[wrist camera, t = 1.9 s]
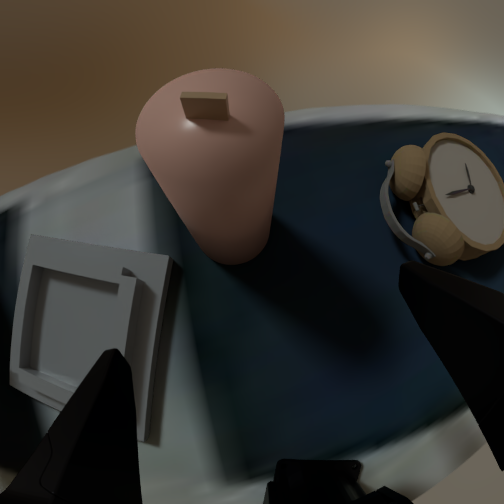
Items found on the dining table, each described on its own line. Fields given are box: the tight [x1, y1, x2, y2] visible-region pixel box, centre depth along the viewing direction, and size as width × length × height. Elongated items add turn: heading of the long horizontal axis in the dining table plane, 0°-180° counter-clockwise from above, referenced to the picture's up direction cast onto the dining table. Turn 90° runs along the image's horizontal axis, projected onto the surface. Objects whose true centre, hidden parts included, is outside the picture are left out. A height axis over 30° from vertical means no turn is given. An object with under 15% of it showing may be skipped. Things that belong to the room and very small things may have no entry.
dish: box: [10, 234, 173, 442], centre depth 20 cm, size 14×14×3 cm
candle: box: [136, 68, 284, 265], centre depth 16 cm, size 6×6×14 cm
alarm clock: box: [380, 133, 504, 266], centre depth 22 cm, size 11×5×15 cm
